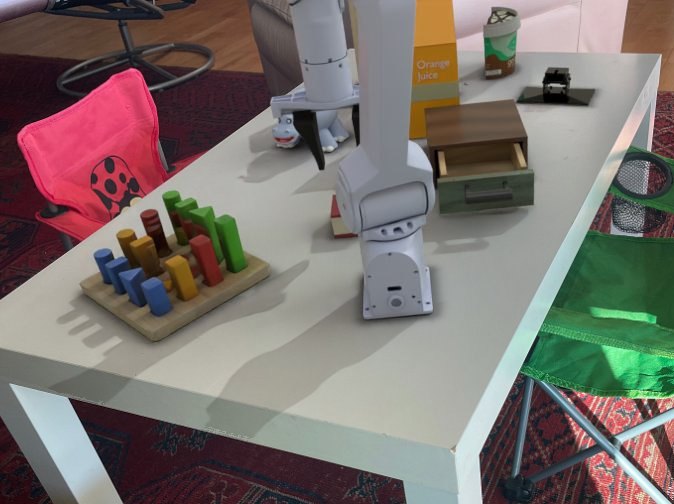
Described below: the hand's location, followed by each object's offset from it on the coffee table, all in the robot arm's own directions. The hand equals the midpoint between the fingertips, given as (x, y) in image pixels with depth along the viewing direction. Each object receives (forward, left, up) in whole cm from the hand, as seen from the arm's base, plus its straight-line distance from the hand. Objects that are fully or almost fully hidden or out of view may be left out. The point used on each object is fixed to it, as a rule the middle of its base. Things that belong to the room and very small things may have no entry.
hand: (341, 164), depth 97 cm
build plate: (+39, -35, -9) cm, 53 cm away
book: (0, 0, -9) cm, 9 cm away
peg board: (-11, +22, -9) cm, 26 cm away
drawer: (+4, -19, -8) cm, 21 cm away
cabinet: (+16, -18, -9) cm, 26 cm away
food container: (+55, -28, -9) cm, 62 cm away
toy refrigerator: (+53, -4, -9) cm, 54 cm away
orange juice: (+31, -13, -9) cm, 35 cm away
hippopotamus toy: (+29, +8, -9) cm, 31 cm away
